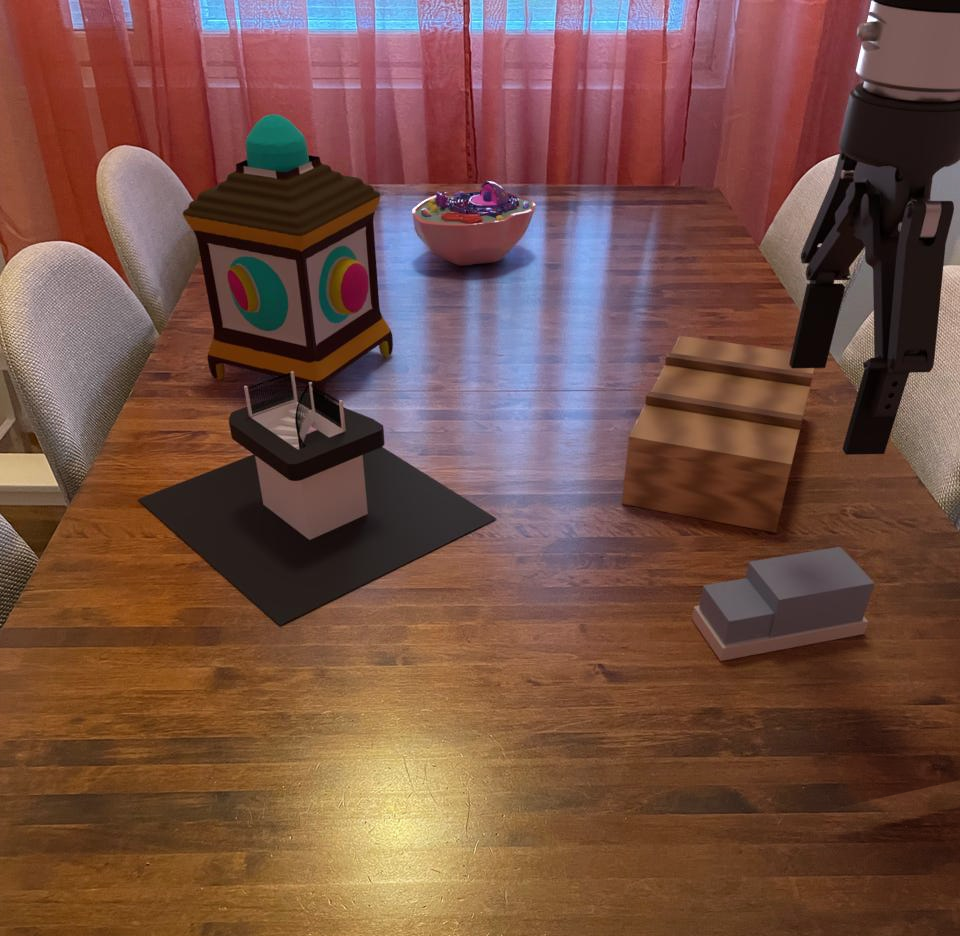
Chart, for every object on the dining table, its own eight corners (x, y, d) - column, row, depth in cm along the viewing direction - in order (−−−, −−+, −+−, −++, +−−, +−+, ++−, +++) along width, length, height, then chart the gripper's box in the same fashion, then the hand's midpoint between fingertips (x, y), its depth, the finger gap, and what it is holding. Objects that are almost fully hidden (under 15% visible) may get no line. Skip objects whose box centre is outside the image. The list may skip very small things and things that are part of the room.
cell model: (395, 253, 161) (391, 180, 154) (501, 234, 168) (502, 163, 161) (441, 288, 150) (439, 210, 142) (553, 265, 157) (556, 190, 149)
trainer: (829, 594, 92) (844, 544, 88) (864, 634, 87) (881, 583, 83) (691, 618, 89) (700, 568, 85) (720, 661, 84) (731, 610, 81)
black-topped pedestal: (496, 519, 101) (498, 401, 93) (280, 626, 88) (258, 500, 79) (340, 421, 117) (329, 313, 109) (137, 500, 104) (106, 383, 95)
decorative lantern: (408, 353, 132) (395, 104, 112) (325, 416, 118) (294, 146, 99) (286, 326, 139) (254, 87, 119) (195, 382, 125) (141, 124, 106)
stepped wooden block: (803, 418, 118) (819, 346, 112) (775, 533, 99) (793, 454, 93) (671, 397, 122) (680, 327, 116) (621, 504, 103) (629, 427, 98)
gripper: (798, 47, 69) (743, 337, 83) (935, 140, 50) (835, 496, 64) (903, 47, 69) (831, 336, 83) (1079, 140, 50) (948, 494, 64)
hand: (832, 406), depth 73 cm, fingers open, 13 cm apart
